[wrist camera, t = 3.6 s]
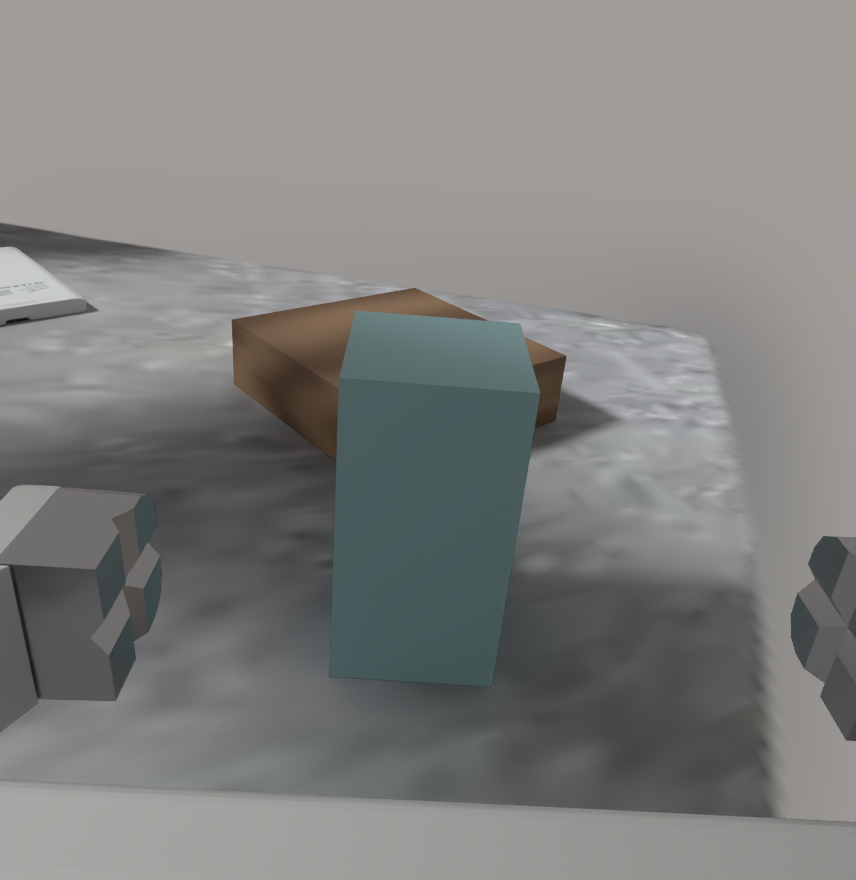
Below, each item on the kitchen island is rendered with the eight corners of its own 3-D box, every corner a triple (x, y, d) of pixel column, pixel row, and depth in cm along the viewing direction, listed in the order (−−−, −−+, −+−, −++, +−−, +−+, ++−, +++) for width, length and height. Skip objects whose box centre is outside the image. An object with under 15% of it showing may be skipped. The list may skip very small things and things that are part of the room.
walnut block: (234, 391, 42) (231, 319, 40) (410, 350, 49) (414, 288, 47) (368, 493, 34) (372, 410, 32) (553, 427, 42) (566, 355, 40)
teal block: (329, 676, 24) (339, 377, 20) (344, 574, 29) (355, 310, 24) (491, 687, 24) (540, 392, 20) (482, 583, 29) (520, 323, 24)
